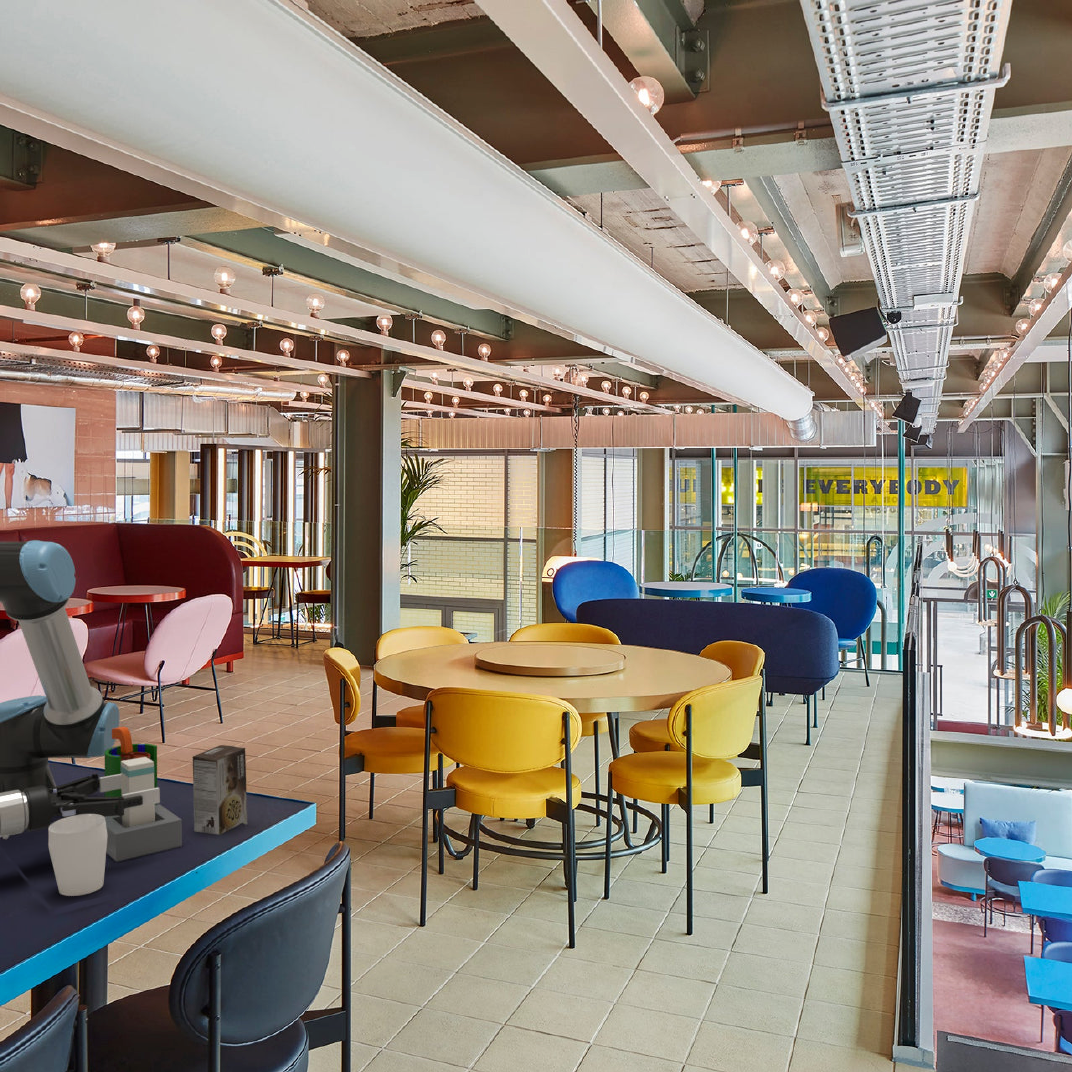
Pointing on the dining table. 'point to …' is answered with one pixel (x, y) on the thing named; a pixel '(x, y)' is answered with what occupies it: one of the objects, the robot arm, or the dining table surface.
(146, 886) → the dining table surface
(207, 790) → the coffee box
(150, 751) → the motor
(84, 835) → the cup
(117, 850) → the socket
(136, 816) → the plug
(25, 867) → the dining table surface
